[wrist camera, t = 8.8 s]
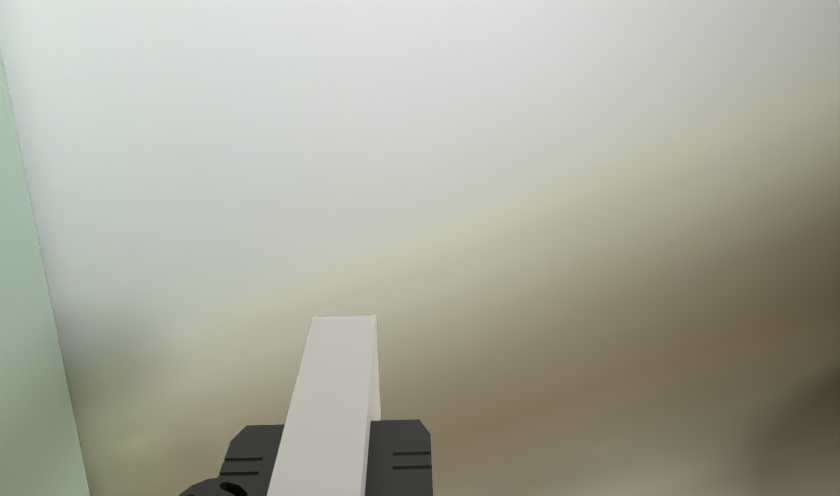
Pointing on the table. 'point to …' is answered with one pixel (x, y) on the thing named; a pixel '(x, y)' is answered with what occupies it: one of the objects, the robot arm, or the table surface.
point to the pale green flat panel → (30, 346)
